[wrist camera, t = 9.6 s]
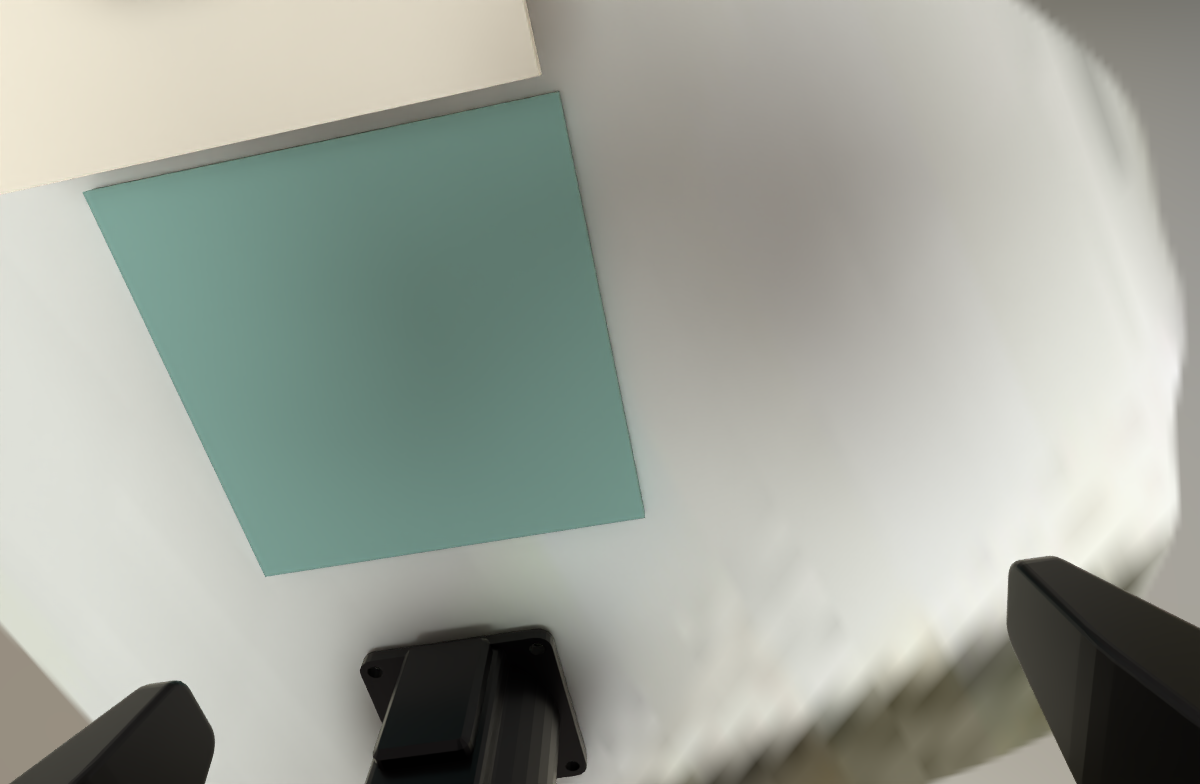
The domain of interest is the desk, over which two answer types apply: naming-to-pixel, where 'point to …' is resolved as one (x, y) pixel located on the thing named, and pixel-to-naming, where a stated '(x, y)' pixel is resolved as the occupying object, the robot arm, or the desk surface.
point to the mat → (387, 335)
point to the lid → (228, 72)
